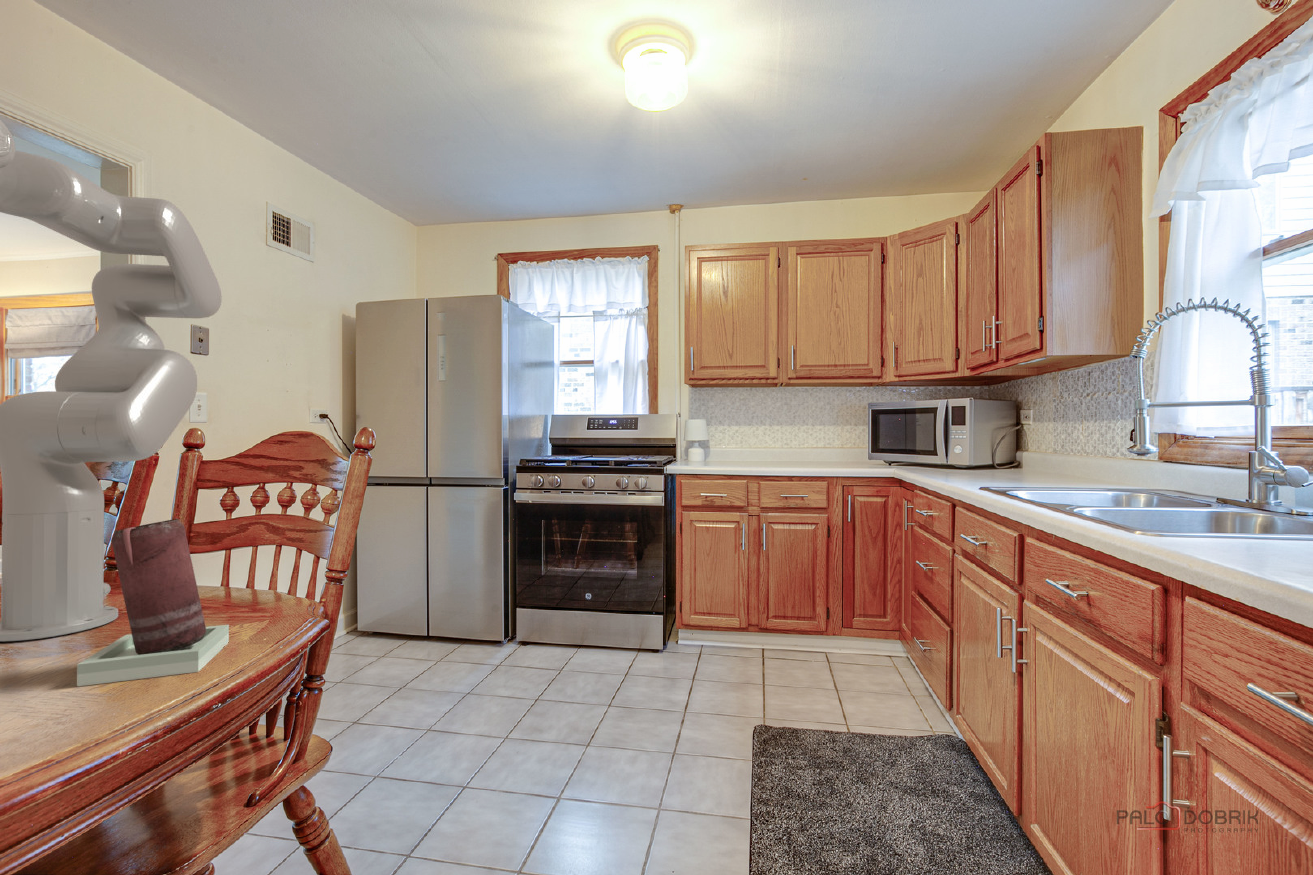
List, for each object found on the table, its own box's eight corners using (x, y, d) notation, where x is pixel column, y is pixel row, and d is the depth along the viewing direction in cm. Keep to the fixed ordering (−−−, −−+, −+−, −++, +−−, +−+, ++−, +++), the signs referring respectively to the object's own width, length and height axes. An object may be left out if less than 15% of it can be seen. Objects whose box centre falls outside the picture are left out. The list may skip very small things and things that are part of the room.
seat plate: (125, 653, 68) (125, 634, 68) (228, 642, 71) (228, 624, 71) (77, 686, 58) (77, 664, 58) (198, 671, 62) (198, 650, 62)
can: (122, 665, 61) (93, 534, 60) (156, 644, 67) (130, 525, 66) (190, 649, 62) (162, 522, 62) (217, 630, 69) (192, 514, 68)
